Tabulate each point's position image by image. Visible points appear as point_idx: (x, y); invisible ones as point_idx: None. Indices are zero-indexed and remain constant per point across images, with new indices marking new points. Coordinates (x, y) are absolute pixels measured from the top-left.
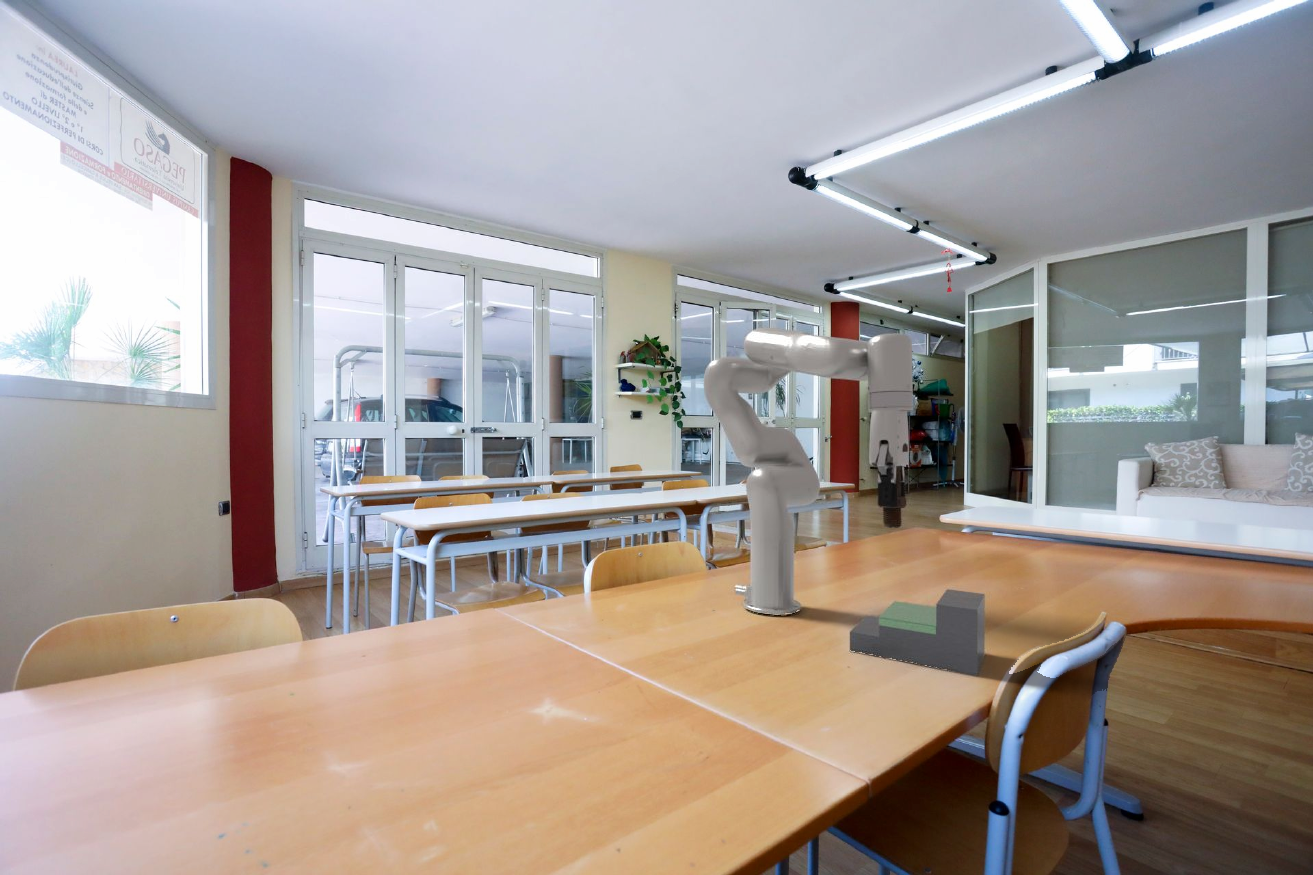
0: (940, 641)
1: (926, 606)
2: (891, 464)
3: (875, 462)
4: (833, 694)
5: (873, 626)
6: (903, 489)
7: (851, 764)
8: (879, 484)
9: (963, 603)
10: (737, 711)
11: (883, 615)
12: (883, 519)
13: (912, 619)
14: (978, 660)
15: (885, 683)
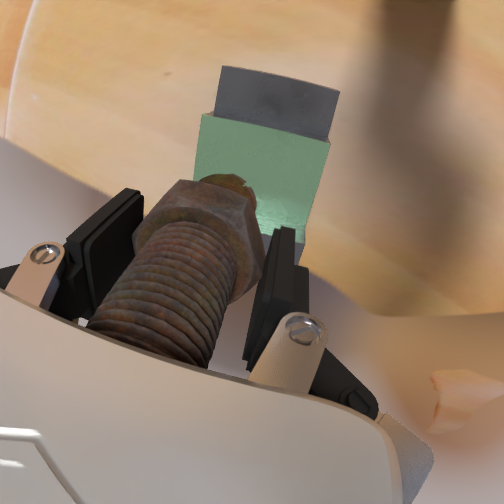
0: None
1: (308, 196)
2: None
3: (57, 343)
4: (87, 80)
5: (269, 100)
6: (247, 335)
7: (11, 127)
8: (72, 242)
9: None
10: (33, 28)
11: (214, 121)
12: (211, 179)
13: (209, 167)
14: None
15: (135, 122)
